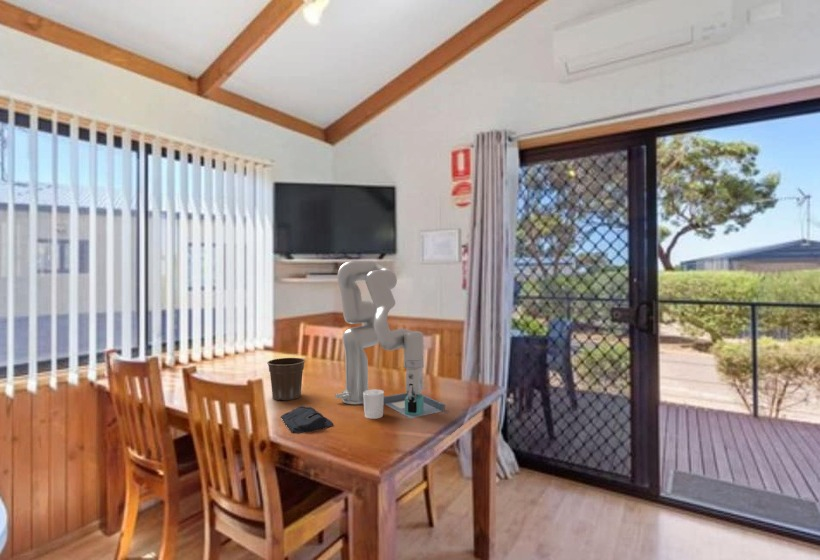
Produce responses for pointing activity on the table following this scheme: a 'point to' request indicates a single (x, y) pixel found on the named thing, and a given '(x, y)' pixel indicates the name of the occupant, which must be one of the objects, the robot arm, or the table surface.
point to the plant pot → (286, 377)
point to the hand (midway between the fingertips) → (414, 409)
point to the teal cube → (418, 405)
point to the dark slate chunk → (305, 420)
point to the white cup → (373, 403)
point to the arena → (399, 404)
